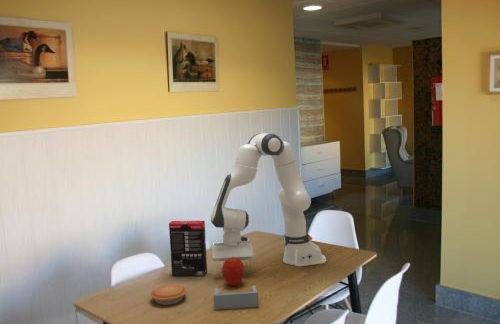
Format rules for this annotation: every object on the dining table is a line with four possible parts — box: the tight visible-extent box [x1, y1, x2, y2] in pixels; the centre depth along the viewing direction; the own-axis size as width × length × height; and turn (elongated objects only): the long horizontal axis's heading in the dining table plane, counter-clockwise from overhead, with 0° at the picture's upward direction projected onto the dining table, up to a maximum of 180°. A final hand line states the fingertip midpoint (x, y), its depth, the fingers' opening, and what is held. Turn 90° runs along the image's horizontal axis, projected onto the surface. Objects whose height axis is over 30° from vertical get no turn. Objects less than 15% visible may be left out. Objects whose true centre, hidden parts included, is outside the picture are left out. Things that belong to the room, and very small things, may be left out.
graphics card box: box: [168, 220, 208, 277], centre depth 230 cm, size 17×7×27 cm, turn 84°
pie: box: [150, 283, 188, 306], centre depth 202 cm, size 15×16×5 cm
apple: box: [221, 257, 245, 287], centre depth 214 cm, size 10×10×14 cm
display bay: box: [213, 285, 259, 311], centre depth 198 cm, size 18×16×6 cm
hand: (233, 268), depth 220 cm, fingers closed, pressing on apple
